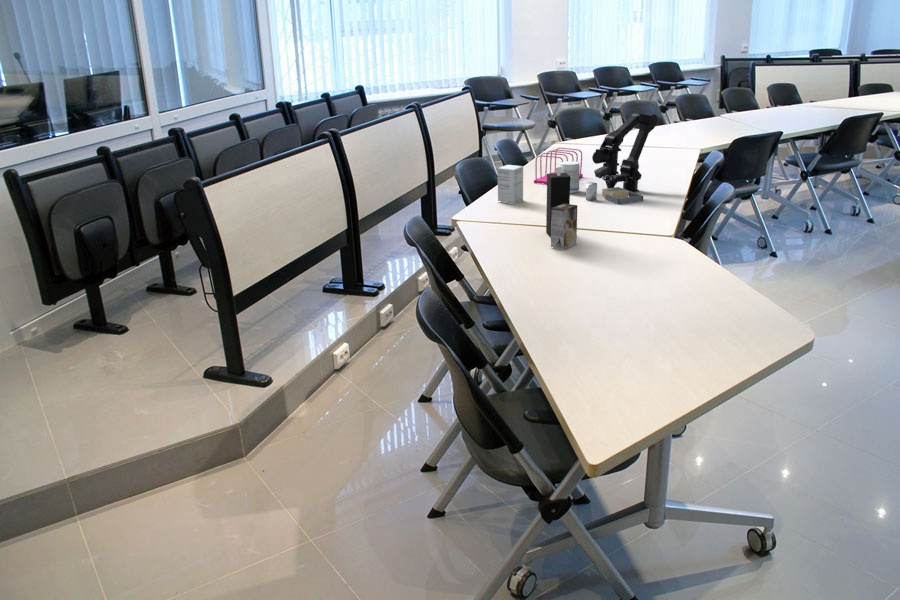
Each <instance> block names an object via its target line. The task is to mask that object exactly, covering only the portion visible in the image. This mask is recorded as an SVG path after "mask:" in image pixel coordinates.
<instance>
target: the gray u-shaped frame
mask: <svg viewBox="0 0 900 600" xmlns="http://www.w3.org/2000/svg"><path fill="white" fill-rule="evenodd" d="M628 196H629V197H627V198H620V199H619V198H616V197H613V196H611V195H608V194H606V195H605V198H604V200H605V199H606V200H605V201H608V202H610V201H611V202H610V203H613V202H614V204H616V203H617V204H616V205H618V204H619V205H624V204H623V203H625V204H631V202H632V203H637V202H638V201H639V202H644V195H642V194H640V193H637V192H631V191H629V195H628Z"/></svg>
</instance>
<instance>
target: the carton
mask: <svg viewBox="0 0 900 600" xmlns="http://www.w3.org/2000/svg"><path fill="white" fill-rule="evenodd" d="M601 191H602V192H601V196H602V198H603V197H604V198H603V199H605V195H606V194H608V195H611V196H613V197H616V198H619V199H620V198H627V197H628V195H629V191H628V190H625V189H623V187H620V186H618V187H617V186H616V187H615V186H614V188H607V187H606V188H602V189H601Z"/></svg>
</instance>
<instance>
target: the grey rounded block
mask: <svg viewBox="0 0 900 600" xmlns="http://www.w3.org/2000/svg"><path fill="white" fill-rule="evenodd" d="M585 186H586V189H585V192H586V193H585V200H586V201H587V202H596V201H597V197H598V196H597V195H598V193H597V192H598V191H597V190H598V183H597V182H594V181H592V182H586V185H585ZM595 200H596V201H595Z"/></svg>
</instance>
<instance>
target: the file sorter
mask: <svg viewBox="0 0 900 600" xmlns="http://www.w3.org/2000/svg"><path fill="white" fill-rule="evenodd" d="M577 151H578V152H579V153H580V175H579V179H581V178H583V177H584V174H583V173H582V169H583V167H582V166H583V152H582V151H581V150H580V149H579V148H578V149H577V148H570V147H569V148H568V147H558V148H557V147H556V149H553V150H549V151H547V152H543V153H541V154H540V155H537V156H536V158H535V163H534V164H535V165H534V166H535V179H534V180H533V183H534V184H537V183H544V184H543V185H547V174H548V173H547V172H548V169H547V168H548V158H550V162H549V174H550V173H557V172H556V170H555V168H557V159H560V160H561V163H562V162H564V160H563V158H562V157H561V156H564V157H565V158H566V161H569V158H568V156H567V155H570V156H571V157H572V159H571V161H575V162H579V161H578V160H579V158H578V157H579V156H578V155H579V154H578V153H577ZM572 153H574V155H576V160H574V155H573V154H572ZM557 155H558V156H557ZM538 158H540V159H539V160H540V161H539V162H540V163H539V165H540V168H539V169H540V170H539V171H540V175H539V176H540V177H538V173H537V172H538V171H537V170H538V169H537V167H538V165H537V162H538V160H537V159H538ZM542 158H545V172H544V173H545V174H544V175H542V174H543V173H542V167H543V166H542ZM552 158H553V159H554V171H552V160H553V159H552ZM537 177H538V178H537Z"/></svg>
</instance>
